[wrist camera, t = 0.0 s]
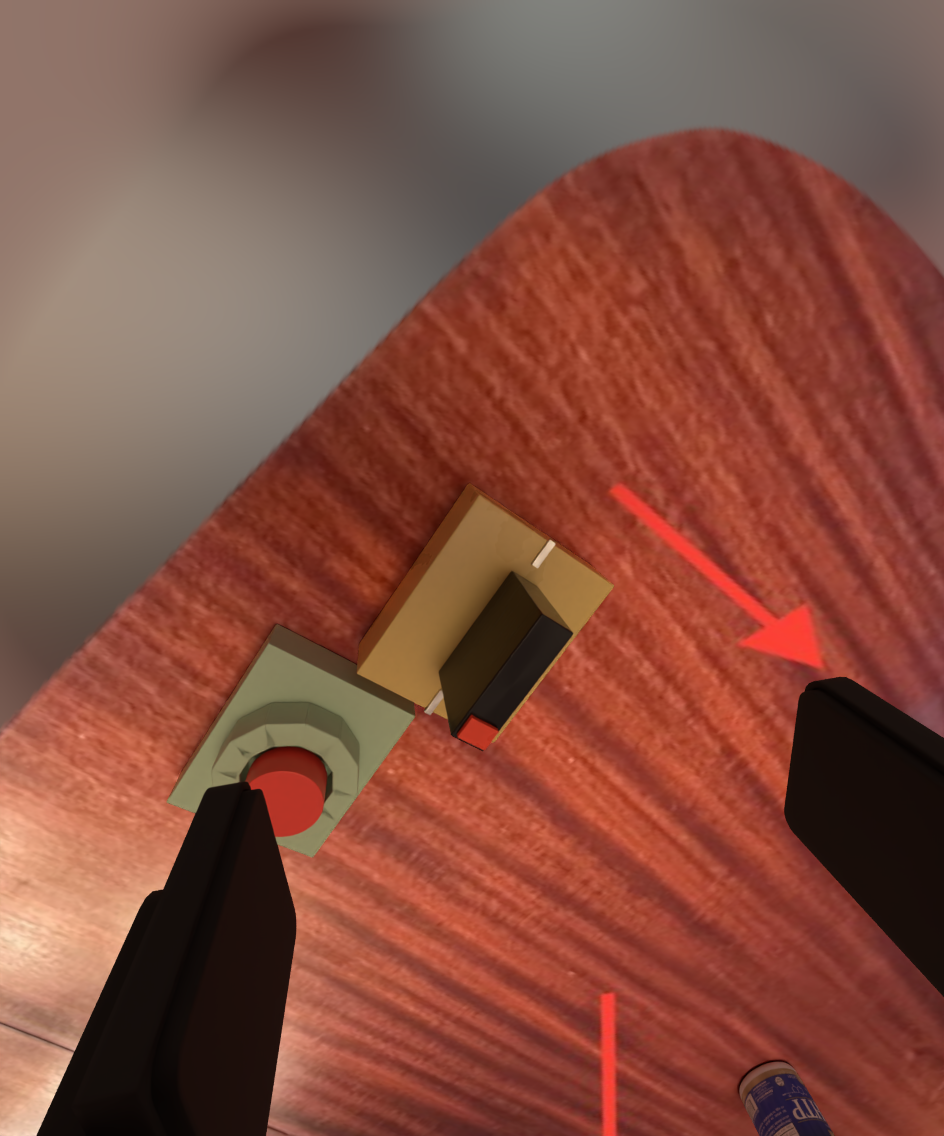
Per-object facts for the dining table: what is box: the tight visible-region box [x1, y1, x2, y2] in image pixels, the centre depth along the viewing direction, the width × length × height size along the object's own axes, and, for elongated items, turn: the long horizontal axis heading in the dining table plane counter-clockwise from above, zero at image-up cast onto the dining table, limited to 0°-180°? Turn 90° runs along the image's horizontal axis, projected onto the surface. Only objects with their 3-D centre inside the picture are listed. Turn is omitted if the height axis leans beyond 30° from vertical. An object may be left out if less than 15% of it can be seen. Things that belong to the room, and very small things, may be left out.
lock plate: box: [357, 483, 614, 742], centre depth 27 cm, size 10×8×3 cm
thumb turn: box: [438, 571, 573, 751], centre depth 23 cm, size 6×2×5 cm, turn 145°
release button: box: [245, 746, 327, 837], centre depth 25 cm, size 4×4×2 cm
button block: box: [167, 624, 415, 857], centre depth 27 cm, size 10×8×4 cm
